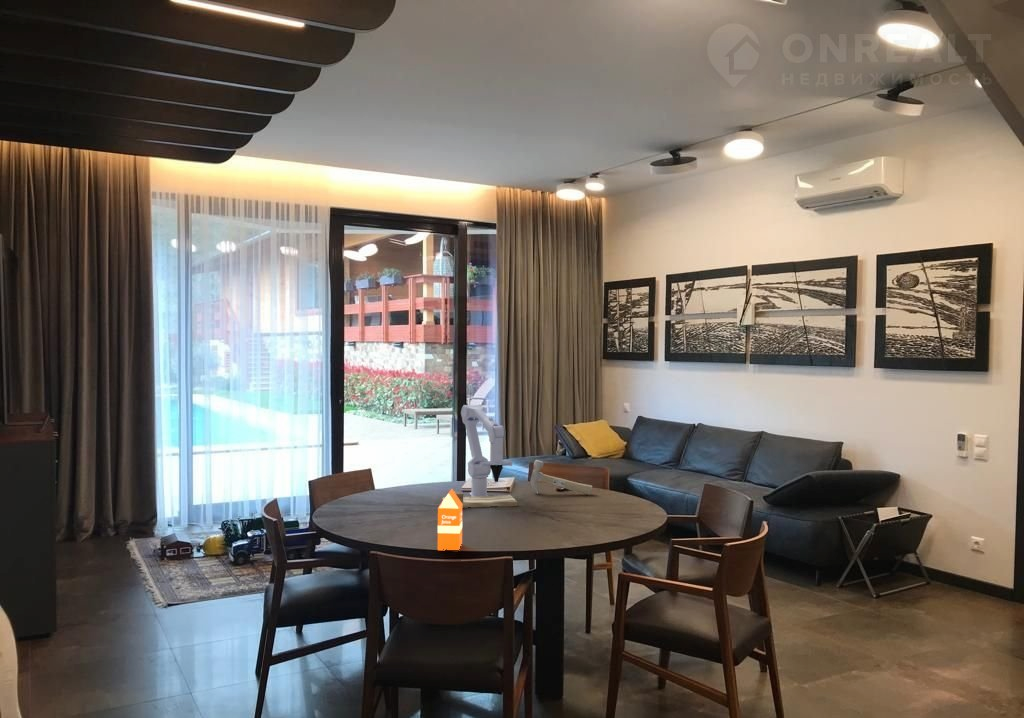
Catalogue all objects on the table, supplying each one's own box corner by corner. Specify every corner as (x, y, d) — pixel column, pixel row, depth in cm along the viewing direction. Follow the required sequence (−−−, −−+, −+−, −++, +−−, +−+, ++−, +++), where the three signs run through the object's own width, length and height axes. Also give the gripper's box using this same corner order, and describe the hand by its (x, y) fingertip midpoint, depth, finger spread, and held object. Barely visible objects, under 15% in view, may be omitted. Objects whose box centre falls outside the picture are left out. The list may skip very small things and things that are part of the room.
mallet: (449, 498, 320) (449, 489, 320) (459, 498, 322) (460, 489, 322) (452, 503, 310) (452, 494, 310) (463, 502, 311) (463, 493, 311)
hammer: (594, 474, 344) (535, 459, 347) (595, 476, 339) (534, 460, 342) (587, 505, 345) (527, 489, 347) (587, 507, 340) (527, 491, 343)
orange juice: (462, 544, 252) (462, 488, 251) (459, 550, 243) (460, 493, 243) (440, 543, 252) (441, 487, 252) (436, 550, 243) (437, 492, 243)
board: (442, 501, 323) (442, 497, 323) (510, 499, 330) (510, 494, 330) (445, 508, 309) (445, 503, 309) (516, 505, 316) (517, 501, 316)
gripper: (482, 453, 318) (482, 483, 318) (513, 453, 321) (513, 482, 321) (479, 451, 325) (479, 480, 325) (510, 450, 328) (510, 480, 328)
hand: (496, 481), depth 324 cm, fingers closed
